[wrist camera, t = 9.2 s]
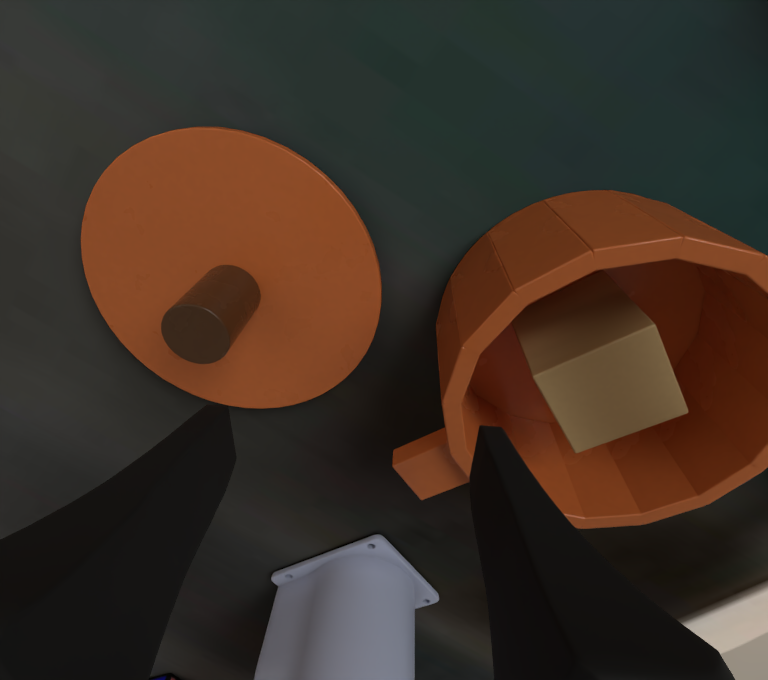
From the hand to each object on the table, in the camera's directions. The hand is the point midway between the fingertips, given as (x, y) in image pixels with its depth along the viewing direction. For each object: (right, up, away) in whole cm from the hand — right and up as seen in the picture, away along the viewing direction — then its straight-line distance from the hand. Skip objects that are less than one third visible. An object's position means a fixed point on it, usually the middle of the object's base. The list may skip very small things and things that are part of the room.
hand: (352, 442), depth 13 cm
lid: (-6, +5, +8) cm, 11 cm away
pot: (+10, +4, +8) cm, 13 cm away
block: (+10, +3, +8) cm, 13 cm away
